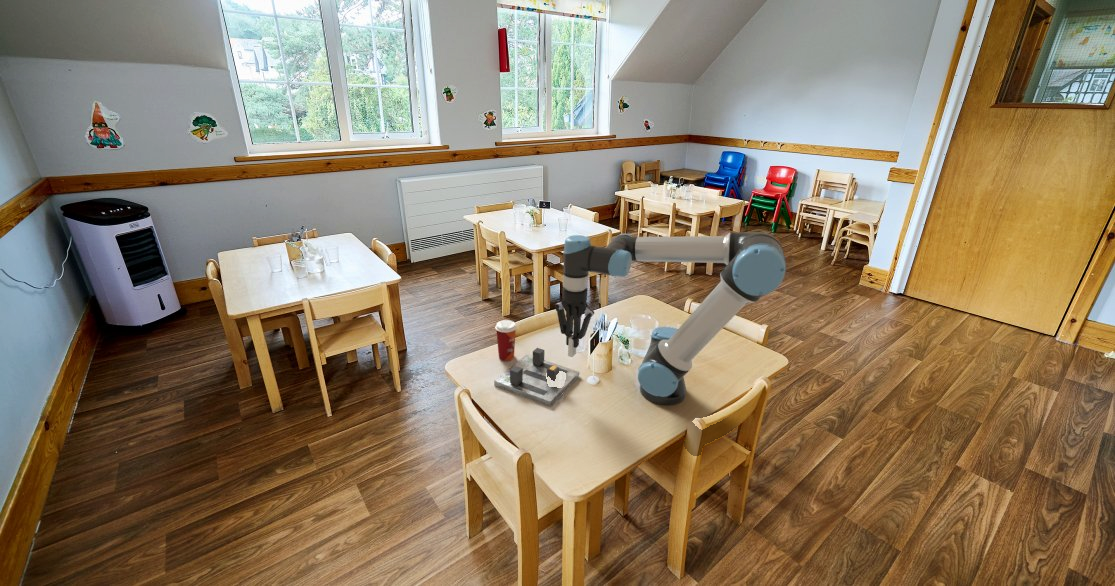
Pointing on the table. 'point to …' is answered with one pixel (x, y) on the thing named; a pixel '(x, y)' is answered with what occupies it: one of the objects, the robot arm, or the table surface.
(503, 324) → the paper cup
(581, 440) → the table surface
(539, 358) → the block
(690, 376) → the table surface
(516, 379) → the block
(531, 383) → the panel
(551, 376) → the block
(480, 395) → the table surface
